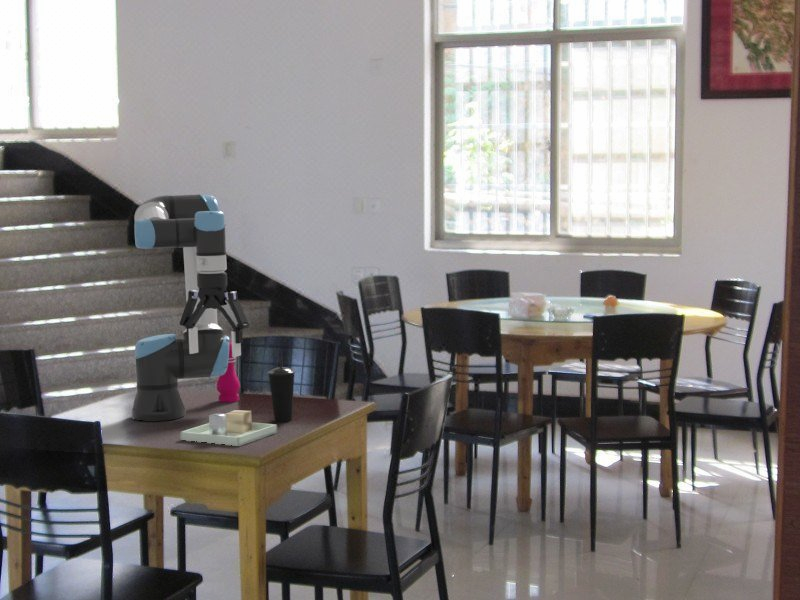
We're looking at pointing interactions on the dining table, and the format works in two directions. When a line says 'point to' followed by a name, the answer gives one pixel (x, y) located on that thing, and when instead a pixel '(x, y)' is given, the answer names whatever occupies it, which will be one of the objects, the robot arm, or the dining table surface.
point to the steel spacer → (217, 424)
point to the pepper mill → (229, 381)
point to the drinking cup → (282, 391)
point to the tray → (229, 434)
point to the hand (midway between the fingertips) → (215, 354)
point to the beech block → (238, 421)
